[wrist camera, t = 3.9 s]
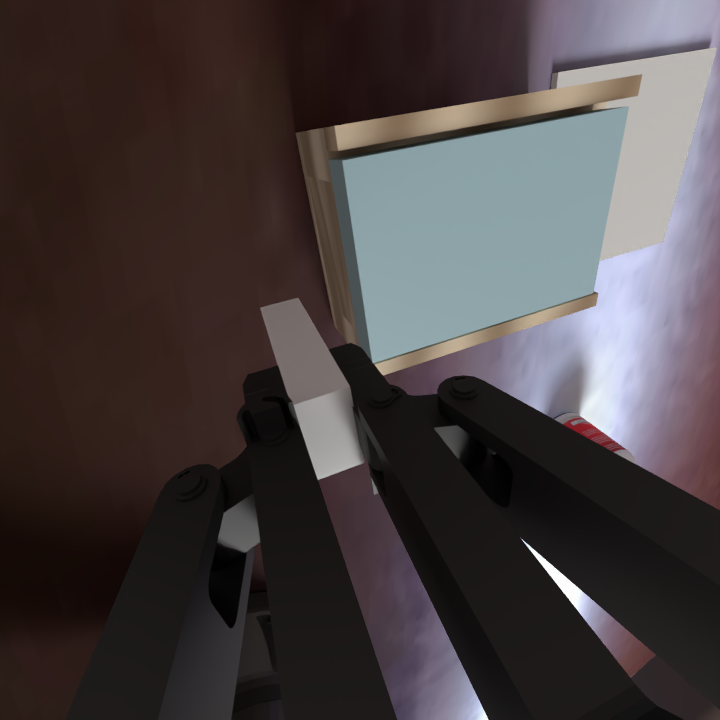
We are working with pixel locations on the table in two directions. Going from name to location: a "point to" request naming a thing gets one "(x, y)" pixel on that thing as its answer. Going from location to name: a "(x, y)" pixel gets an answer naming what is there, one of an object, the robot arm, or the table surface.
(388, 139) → the box
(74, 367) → the table surface
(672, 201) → the mat
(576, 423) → the pill bottle
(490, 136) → the lid
